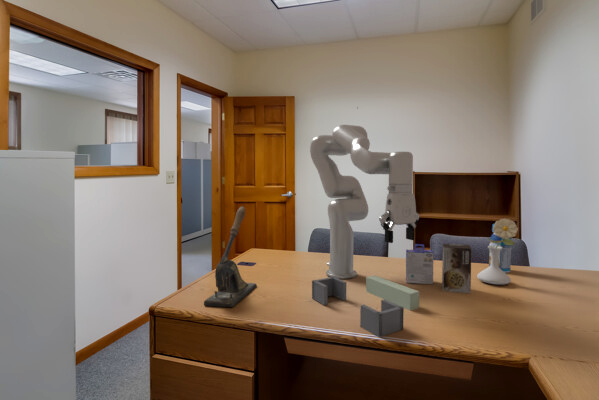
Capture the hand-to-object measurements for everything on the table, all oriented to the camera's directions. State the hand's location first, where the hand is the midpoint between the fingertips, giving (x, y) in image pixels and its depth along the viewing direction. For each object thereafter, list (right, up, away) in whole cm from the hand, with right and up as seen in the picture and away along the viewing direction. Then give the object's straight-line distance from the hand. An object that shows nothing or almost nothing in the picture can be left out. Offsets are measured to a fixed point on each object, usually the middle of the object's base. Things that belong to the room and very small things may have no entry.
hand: (399, 240), depth 115 cm
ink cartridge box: (+13, -18, +19) cm, 29 cm away
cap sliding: (-24, -20, 0) cm, 31 cm away
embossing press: (-57, -20, +5) cm, 60 cm away
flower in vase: (+42, -18, +17) cm, 49 cm away
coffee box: (+23, -19, +10) cm, 31 cm away
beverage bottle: (+53, -17, +34) cm, 65 cm away
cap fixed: (-11, -21, -21) cm, 32 cm away
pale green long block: (-3, -20, 0) cm, 20 cm away
